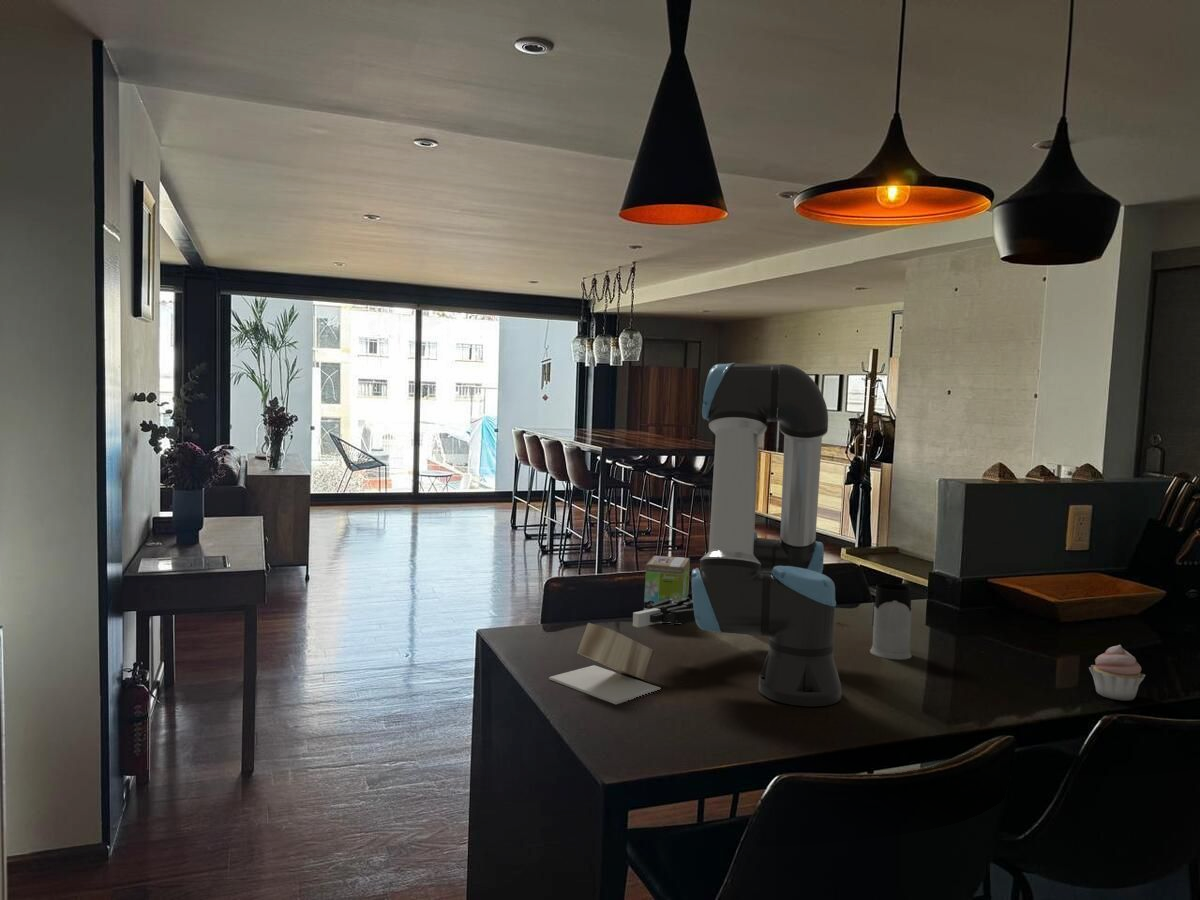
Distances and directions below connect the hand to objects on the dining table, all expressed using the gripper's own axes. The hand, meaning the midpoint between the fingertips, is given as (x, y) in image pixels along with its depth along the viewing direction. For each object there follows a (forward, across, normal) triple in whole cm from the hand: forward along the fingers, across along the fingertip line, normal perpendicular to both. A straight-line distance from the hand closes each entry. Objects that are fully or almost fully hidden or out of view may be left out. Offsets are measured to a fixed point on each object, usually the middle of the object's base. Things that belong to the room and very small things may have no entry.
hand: (635, 620), depth 165 cm
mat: (+9, -1, -11) cm, 14 cm away
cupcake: (-64, -68, -11) cm, 94 cm away
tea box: (-41, +28, -11) cm, 51 cm away
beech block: (0, 0, -8) cm, 8 cm away
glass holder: (-58, -24, -11) cm, 64 cm away
